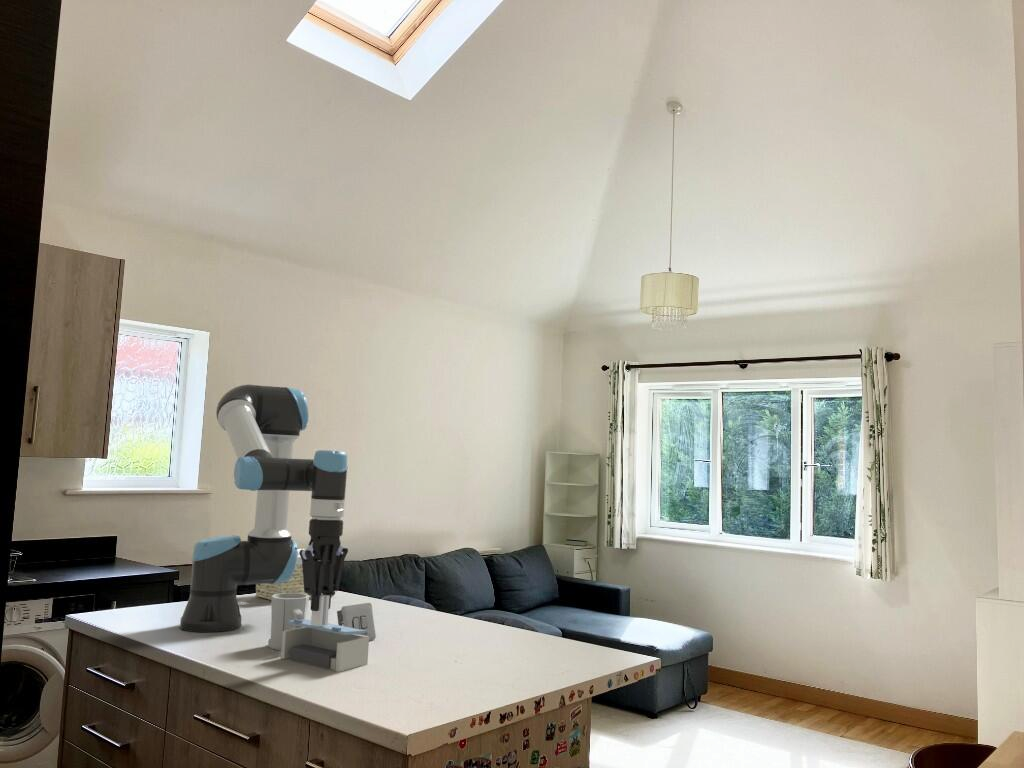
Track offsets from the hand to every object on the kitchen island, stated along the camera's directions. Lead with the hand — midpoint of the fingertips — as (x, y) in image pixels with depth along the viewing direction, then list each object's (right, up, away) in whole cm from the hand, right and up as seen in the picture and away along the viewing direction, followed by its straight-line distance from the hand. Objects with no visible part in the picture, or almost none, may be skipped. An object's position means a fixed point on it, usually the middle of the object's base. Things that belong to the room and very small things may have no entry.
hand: (319, 625), depth 179 cm
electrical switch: (+3, -11, +23) cm, 25 cm away
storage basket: (-27, -16, +82) cm, 88 cm away
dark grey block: (-1, -9, 0) cm, 9 cm away
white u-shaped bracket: (+1, -9, +2) cm, 9 cm away
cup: (-10, -10, +14) cm, 20 cm away
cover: (+1, -2, +3) cm, 3 cm away
